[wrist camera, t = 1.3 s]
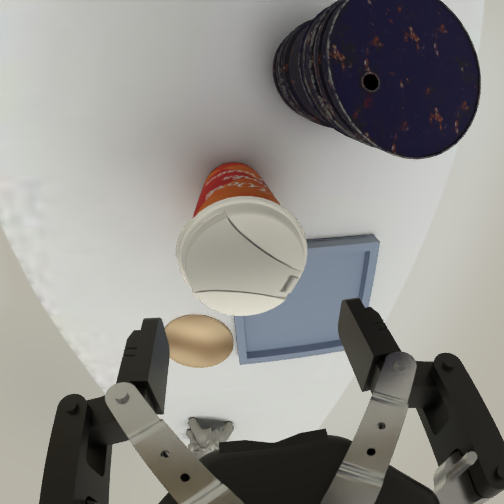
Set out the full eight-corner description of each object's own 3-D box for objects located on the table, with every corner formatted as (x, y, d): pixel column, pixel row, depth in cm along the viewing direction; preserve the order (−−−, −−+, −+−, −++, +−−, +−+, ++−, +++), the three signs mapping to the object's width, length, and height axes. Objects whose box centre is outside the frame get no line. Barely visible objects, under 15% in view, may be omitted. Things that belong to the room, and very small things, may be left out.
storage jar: (351, 13, 22) (450, -24, 9) (386, 104, 27) (494, 133, 14) (252, 43, 23) (288, -1, 10) (296, 138, 28) (363, 188, 15)
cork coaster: (154, 317, 36) (154, 320, 36) (229, 311, 37) (229, 314, 37) (170, 366, 41) (170, 369, 40) (235, 362, 41) (236, 364, 41)
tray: (227, 247, 33) (227, 255, 31) (373, 234, 34) (379, 241, 32) (238, 354, 41) (239, 364, 39) (354, 338, 42) (358, 347, 40)
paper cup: (287, 170, 29) (337, 236, 17) (252, 238, 33) (274, 334, 20) (210, 137, 27) (203, 181, 15) (179, 210, 30) (157, 300, 18)
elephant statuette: (231, 412, 48) (234, 450, 42) (237, 445, 54) (239, 478, 47) (177, 414, 48) (174, 452, 41) (190, 447, 53) (189, 480, 46)
